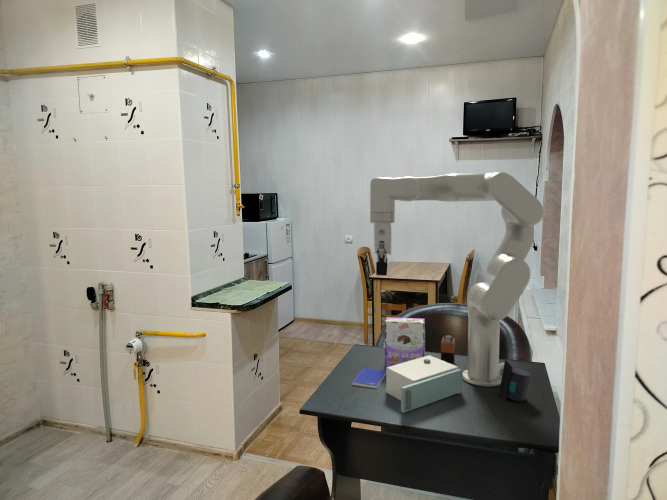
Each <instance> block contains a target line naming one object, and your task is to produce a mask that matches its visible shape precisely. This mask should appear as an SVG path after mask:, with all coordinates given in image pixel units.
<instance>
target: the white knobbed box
mask: <svg viewBox="0 0 667 500" xmlns="http://www.w3.org/2000/svg"><path fill="white" fill-rule="evenodd" d="M385 368H386V370H385V371H386V375H385V376H386V381H385V383H386V388H385V390H386V393H387V394H389V395H390V396H392V397H394V398H395V399H397V400H399V401H401V387H404V386H407V385H410V384H413V383H416V382H419V381H422V380H425V379H429V378H432V377H435V376H438V375H441V374H444V373H447V372H450V371H454V370H457V369H459V367H458V366H457V365H455V364H454V365H452V364H450V363H447V362H445V361H442V360H441V358H437V357H435V356H432V355H430V354H429V355H426V356H425V357H421V358H418V359H414V360H411V361H407V362H404V363H400V364H397V365H393V366H385Z"/></svg>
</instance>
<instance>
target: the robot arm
mask: <svg viewBox="0 0 667 500" xmlns="http://www.w3.org/2000/svg"><path fill="white" fill-rule="evenodd" d="M369 189H370V190H369V191H370V193H369V196H370V197H369V199H370V201H369V202H370V204H369V205H370V206H369V208H370V211H369V212H370V213H369V214H370V215H369V217H370V218H369V219H370V221H369V223H371V224H373V240H374V241H373V243H374V244H373V245H374V253H375V255H376V263H375V264H376V265H375V266H376V268H375V270H376V271H375V275H376V276H384V277H385V276H387V275H388V256H391V255H392V224H394V223H395V213H396V212H395V211H396V209H395V205H396V202H395V201H401V202H413V201H414V202H416V201H438V202H439V201H440V202H445V203H447V202H449V203H450V202H453V203H454V202H455V203H456V202H489V201H490V202H491V201H494V202H497V203H498V204H499V206H500V207H501V211H500V213H501V216H502V219H503V221H504V224H505V233H504V237H503V239H502V241H501V242H500V244H499V246H498V248H497V249H496V251H495V252H494V255H493V256H492V257H491V259H490V260H489V262H488V264H487V267H486V273H487V275H488V277H489V278H490V279H491V280H492V281H491V283H488V282H484V281H483V282H477V283H474V284H473V285H472V286H471V287H470V288H469V289H468V292H467V297H466V304H467V315H468V331H467V335H468V336H467V369H466V370H463V371H462V380H463V381H465V382H466V383H469V384H472V385H474V386H477V387H478V386H479V387H488V388H490V387H496V386H500V384H501V379H502V373H500V372H501V371H502V370H503V368H504V363H505V362H501V363H499V362H500V361H499V360H500V332H501V325H500V324H501V323H500V321H501V320H503V319H505V318H507V316H509V315H510V314H511V312H512V311H513V309H515V308H514V307H515V306H516V304H517V303H518V302H519V300H520V298H521V297H522V294H523V293H524V291H525V290H526V288H527V286H528V285H529V283H530V277H531V269H530V266H529V264H528V263H527V262H526V261H525V260H526V258H527V256H528V254H529V252H530V250H531V248H532V246H533V243H534V241H535V239H534V238H535V229H534V226H535V225H537V224H539V223H540V222H541V220H542V219H543V217H544V207H543V204H542V202H540V200H539V199H538V198H537V197H536V196H535V195H534V194H532V192H530V191H529V190H528V189H527V188H526V187H525V186H524V185H523V184H521V183H520V182H519V181H518V180H517V179H516V178H515V177H514V176H512V174H510V173H507V172H504V171H497V172H481V173H480V172H477V173H450V174H442V175H437V176H425V177H424V176H422V177H421V176H420V177H419V176H418V177H414V176H404V177H395V178H394V177H393V178H392V177H374V178H371V180H370V186H369Z"/></svg>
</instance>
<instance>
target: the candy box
mask: <svg viewBox="0 0 667 500" xmlns="http://www.w3.org/2000/svg"><path fill="white" fill-rule="evenodd" d="M425 322H426V320H425V318H416V317H415V318H414V317H411V318H410V317H389V316H387V317H386V319H385V320H384V366H385V367H390V366H393V365H397V364H400V363H404V362H407V361H411V360H414V359H418V358H421V357H425V355H426V327H425V326H426V325H425V324H426V323H425Z"/></svg>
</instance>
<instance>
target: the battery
mask: <svg viewBox="0 0 667 500" xmlns="http://www.w3.org/2000/svg"><path fill="white" fill-rule="evenodd" d="M455 352H456V338H455V337H453V336H452V335H447V334H446V335H445V336H443V337H442V339H441V342H440V360H442V361H445V362H447V363H450V364H452V365H455V361H456V360H455V359H456V356H455V355H456V353H455Z"/></svg>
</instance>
